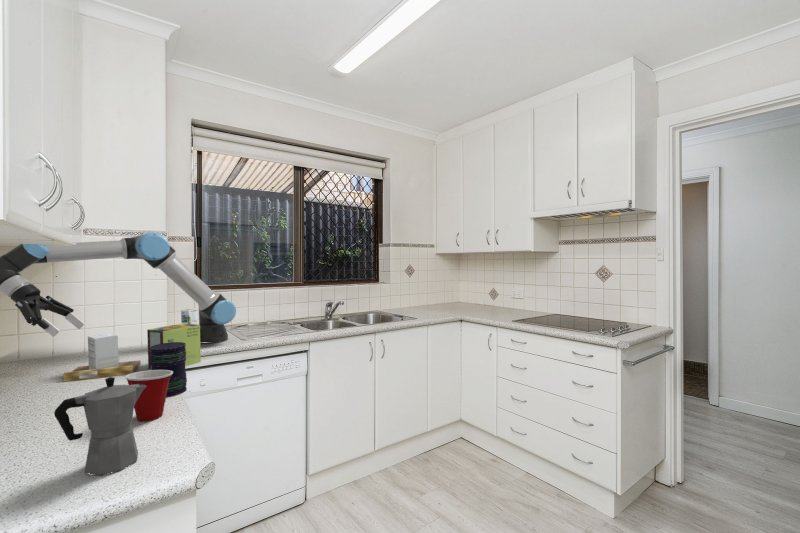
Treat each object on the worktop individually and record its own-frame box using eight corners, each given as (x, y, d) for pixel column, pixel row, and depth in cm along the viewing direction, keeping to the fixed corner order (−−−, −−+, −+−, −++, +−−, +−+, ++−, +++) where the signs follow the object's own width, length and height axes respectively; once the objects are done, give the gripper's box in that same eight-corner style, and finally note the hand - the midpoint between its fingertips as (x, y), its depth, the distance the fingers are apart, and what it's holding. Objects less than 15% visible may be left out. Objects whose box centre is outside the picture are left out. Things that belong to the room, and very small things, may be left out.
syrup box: (180, 335, 212) (180, 309, 212) (189, 333, 218) (189, 308, 217) (189, 336, 210) (188, 310, 210) (197, 334, 216) (197, 308, 216)
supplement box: (111, 365, 149) (110, 332, 148) (119, 368, 144) (118, 334, 144) (88, 369, 143) (87, 336, 142) (95, 373, 138) (94, 338, 138)
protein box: (201, 362, 157) (200, 324, 157) (163, 372, 144) (162, 331, 143) (185, 359, 162) (184, 322, 162) (147, 368, 149) (146, 329, 148)
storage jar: (187, 393, 120) (186, 346, 120) (150, 400, 115) (149, 350, 115) (186, 385, 129) (185, 340, 128) (151, 390, 124) (150, 344, 123)
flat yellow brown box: (140, 364, 155) (140, 356, 155) (132, 374, 141) (132, 366, 141) (78, 370, 147) (78, 362, 147) (63, 382, 133) (62, 373, 133)
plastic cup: (183, 411, 107) (182, 368, 106) (147, 427, 96) (146, 380, 96) (153, 407, 110) (152, 365, 109) (115, 422, 99) (114, 376, 99)
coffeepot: (139, 444, 88) (137, 366, 87) (157, 456, 82) (155, 373, 82) (50, 476, 75) (47, 384, 75) (64, 493, 70) (61, 394, 69)
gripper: (39, 294, 150) (84, 330, 153) (-19, 302, 126) (36, 345, 129) (54, 280, 151) (98, 317, 154) (-1, 285, 126) (53, 328, 129)
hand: (70, 330), depth 141 cm, fingers open, 13 cm apart
